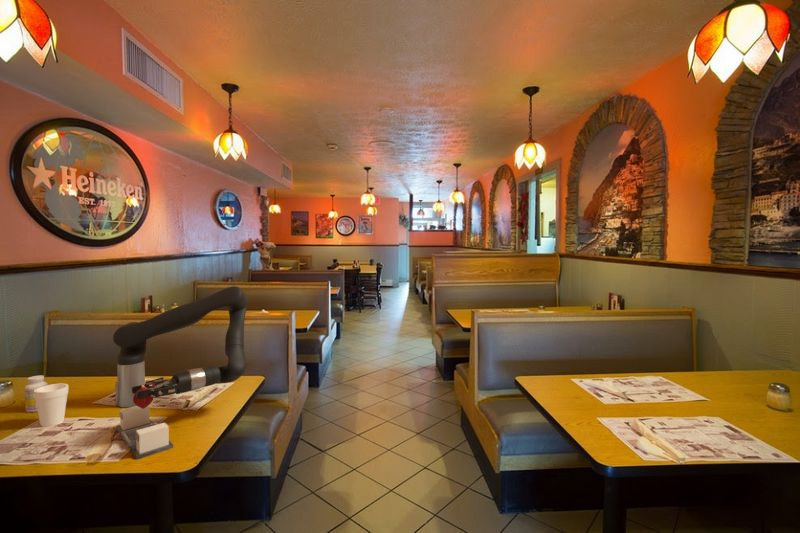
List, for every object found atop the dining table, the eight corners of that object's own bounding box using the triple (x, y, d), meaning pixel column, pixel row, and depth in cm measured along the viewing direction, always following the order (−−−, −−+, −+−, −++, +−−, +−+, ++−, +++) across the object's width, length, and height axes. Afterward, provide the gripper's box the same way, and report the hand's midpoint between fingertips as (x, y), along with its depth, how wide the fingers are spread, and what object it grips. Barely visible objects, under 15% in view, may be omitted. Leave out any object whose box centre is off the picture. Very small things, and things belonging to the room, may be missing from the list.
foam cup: (30, 430, 136) (29, 394, 135) (39, 420, 144) (39, 385, 144) (65, 425, 140) (64, 390, 140) (72, 415, 148) (71, 382, 148)
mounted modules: (119, 426, 138) (119, 410, 138) (146, 419, 144) (146, 403, 144) (138, 454, 120) (138, 435, 120) (168, 444, 126) (168, 426, 126)
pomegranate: (158, 406, 134) (157, 383, 133) (142, 413, 128) (141, 389, 128) (145, 404, 135) (144, 381, 135) (129, 410, 130) (128, 387, 130)
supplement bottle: (44, 404, 158) (43, 373, 158) (51, 408, 155) (50, 376, 154) (22, 410, 153) (21, 377, 152) (28, 414, 149) (27, 381, 149)
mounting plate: (115, 429, 138) (115, 423, 138) (149, 420, 146) (149, 415, 146) (135, 459, 119) (135, 453, 119) (174, 447, 126) (174, 441, 126)
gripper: (182, 366, 147) (128, 376, 134) (196, 374, 137) (139, 387, 124) (182, 385, 147) (129, 398, 135) (196, 395, 137) (140, 410, 125)
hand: (134, 392), depth 130 cm, fingers closed on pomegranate, 5 cm apart
